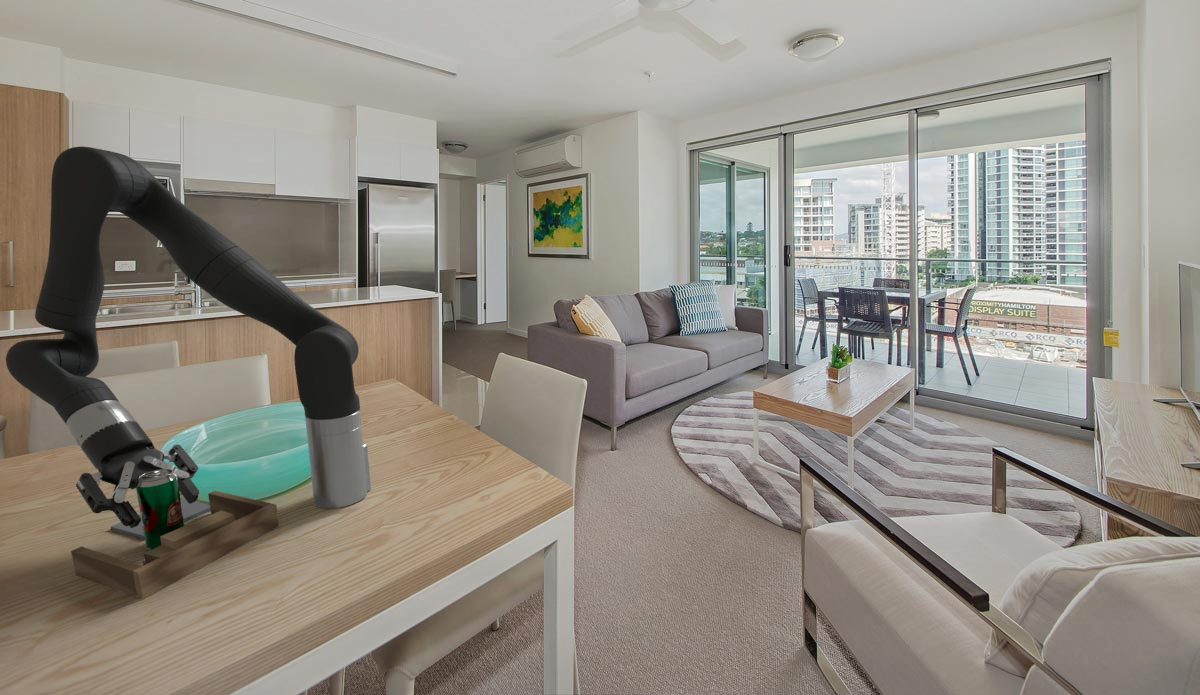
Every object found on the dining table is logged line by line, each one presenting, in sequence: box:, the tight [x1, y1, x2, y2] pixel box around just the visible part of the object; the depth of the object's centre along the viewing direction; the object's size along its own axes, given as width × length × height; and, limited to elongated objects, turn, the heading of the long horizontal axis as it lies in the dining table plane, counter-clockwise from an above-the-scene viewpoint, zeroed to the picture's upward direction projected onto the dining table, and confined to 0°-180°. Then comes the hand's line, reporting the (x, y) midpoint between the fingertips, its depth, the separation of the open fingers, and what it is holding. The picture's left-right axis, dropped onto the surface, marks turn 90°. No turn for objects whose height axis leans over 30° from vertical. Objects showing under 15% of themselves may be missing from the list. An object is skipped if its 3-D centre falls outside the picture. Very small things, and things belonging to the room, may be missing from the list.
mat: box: [110, 497, 211, 540], centre depth 92 cm, size 11×9×1 cm
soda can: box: [135, 469, 186, 551], centre depth 83 cm, size 5×5×12 cm
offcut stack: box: [142, 510, 236, 566], centre depth 81 cm, size 12×5×4 cm, turn 160°
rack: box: [70, 490, 280, 600], centre depth 82 cm, size 20×15×4 cm
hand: (167, 511), depth 83 cm, fingers open, 8 cm apart
